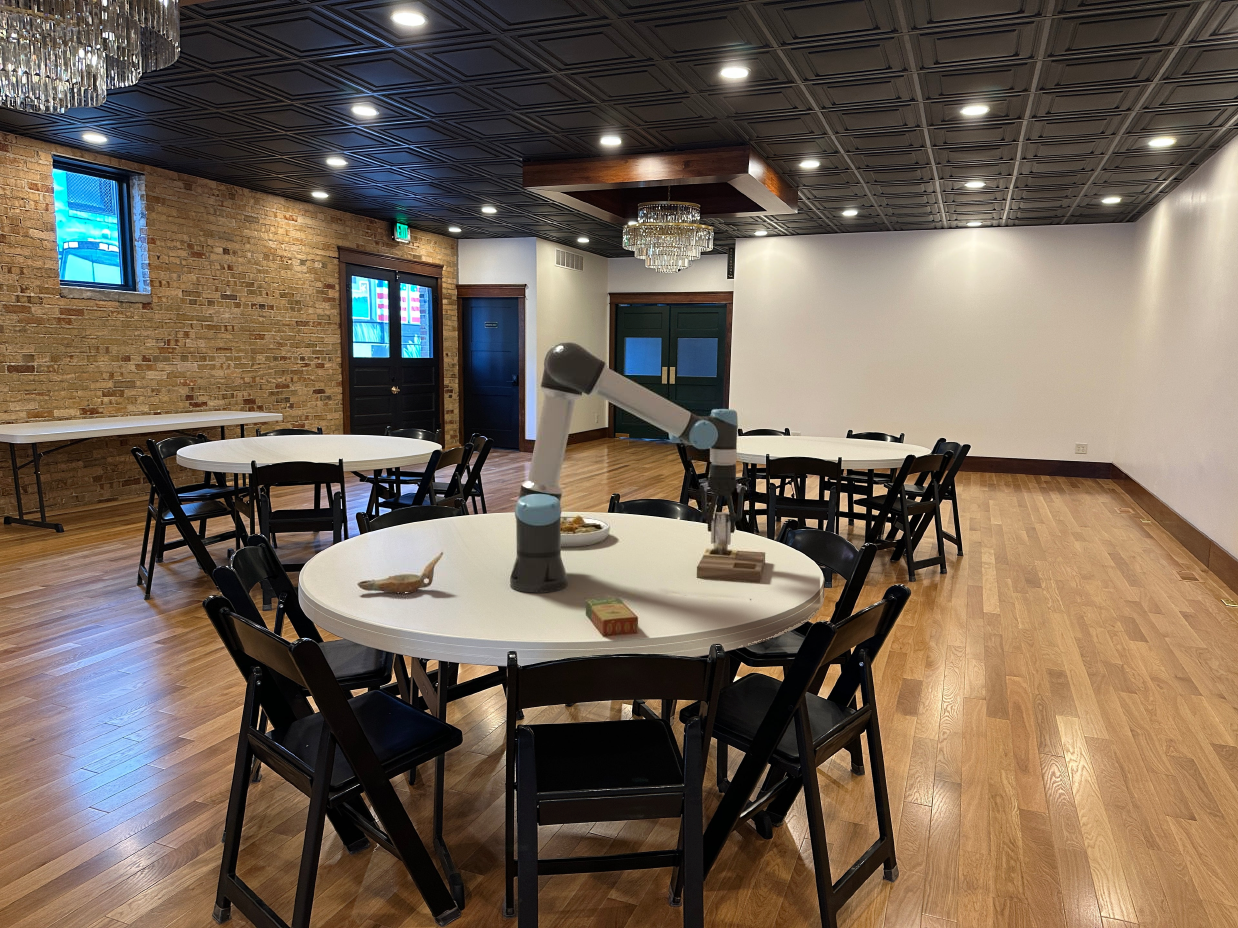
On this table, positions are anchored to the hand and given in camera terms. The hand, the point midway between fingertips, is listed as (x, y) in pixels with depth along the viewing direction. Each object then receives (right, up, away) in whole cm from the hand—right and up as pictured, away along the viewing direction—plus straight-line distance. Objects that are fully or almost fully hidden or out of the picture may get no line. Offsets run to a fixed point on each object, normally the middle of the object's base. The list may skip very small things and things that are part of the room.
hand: (720, 543), depth 232 cm
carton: (-31, -14, -50) cm, 60 cm away
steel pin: (0, -5, +1) cm, 5 cm away
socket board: (+2, -8, -6) cm, 10 cm away
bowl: (-48, -3, +36) cm, 60 cm away
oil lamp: (-86, -10, -26) cm, 90 cm away
